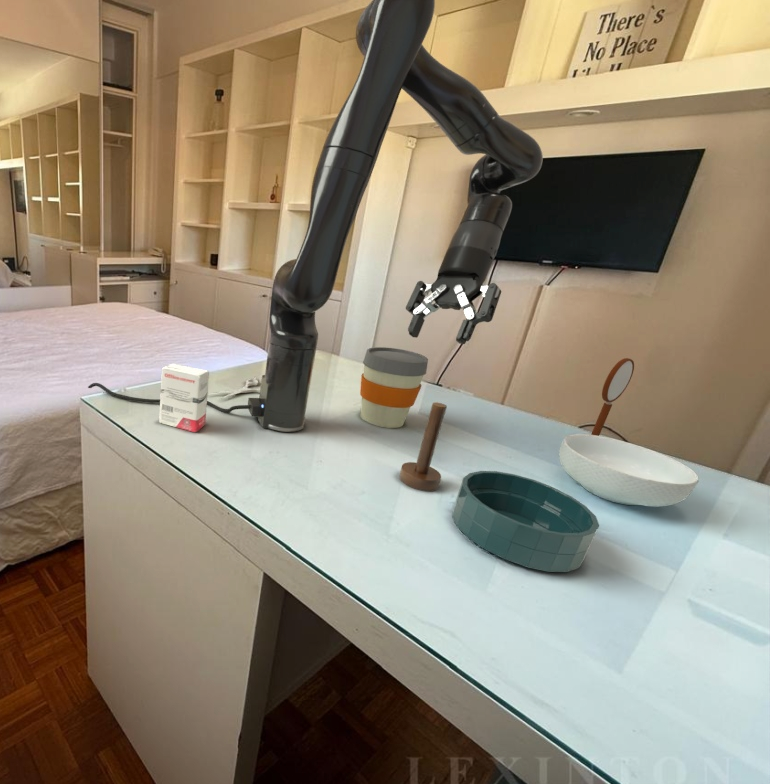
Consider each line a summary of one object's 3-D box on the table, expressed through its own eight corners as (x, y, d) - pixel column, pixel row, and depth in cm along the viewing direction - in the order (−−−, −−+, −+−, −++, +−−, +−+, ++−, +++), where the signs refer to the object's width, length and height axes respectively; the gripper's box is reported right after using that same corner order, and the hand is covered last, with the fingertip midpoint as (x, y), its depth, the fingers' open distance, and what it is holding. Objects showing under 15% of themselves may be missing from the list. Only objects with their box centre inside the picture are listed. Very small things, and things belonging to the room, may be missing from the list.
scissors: (286, 388, 114) (227, 402, 102) (285, 391, 114) (227, 406, 102) (255, 376, 122) (198, 388, 110) (255, 379, 122) (197, 391, 110)
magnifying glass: (592, 448, 93) (632, 355, 86) (602, 452, 92) (643, 358, 85) (570, 455, 90) (610, 358, 83) (581, 460, 88) (622, 361, 81)
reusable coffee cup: (423, 424, 100) (441, 359, 95) (390, 436, 93) (408, 366, 88) (373, 405, 109) (387, 344, 104) (340, 414, 103) (353, 350, 97)
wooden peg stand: (410, 490, 73) (432, 411, 69) (392, 471, 79) (411, 397, 74) (445, 491, 74) (470, 412, 69) (425, 472, 79) (446, 398, 75)
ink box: (206, 424, 93) (210, 369, 89) (195, 433, 88) (200, 376, 84) (169, 415, 96) (172, 361, 92) (157, 423, 92) (160, 367, 88)
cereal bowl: (653, 534, 66) (674, 492, 64) (530, 478, 80) (543, 442, 78) (697, 507, 74) (717, 470, 72) (577, 460, 88) (591, 427, 85)
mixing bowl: (499, 574, 56) (514, 534, 54) (430, 503, 70) (440, 469, 68) (612, 575, 57) (632, 536, 55) (522, 505, 71) (535, 472, 69)
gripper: (421, 245, 84) (388, 326, 84) (507, 242, 72) (469, 336, 73) (439, 264, 88) (407, 341, 89) (522, 263, 77) (486, 352, 77)
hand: (435, 339), depth 81 cm, fingers open, 8 cm apart
